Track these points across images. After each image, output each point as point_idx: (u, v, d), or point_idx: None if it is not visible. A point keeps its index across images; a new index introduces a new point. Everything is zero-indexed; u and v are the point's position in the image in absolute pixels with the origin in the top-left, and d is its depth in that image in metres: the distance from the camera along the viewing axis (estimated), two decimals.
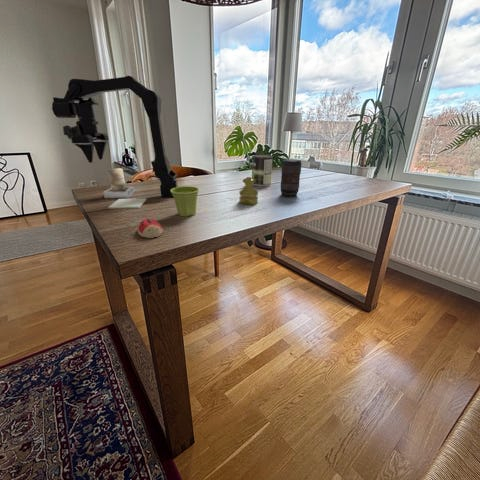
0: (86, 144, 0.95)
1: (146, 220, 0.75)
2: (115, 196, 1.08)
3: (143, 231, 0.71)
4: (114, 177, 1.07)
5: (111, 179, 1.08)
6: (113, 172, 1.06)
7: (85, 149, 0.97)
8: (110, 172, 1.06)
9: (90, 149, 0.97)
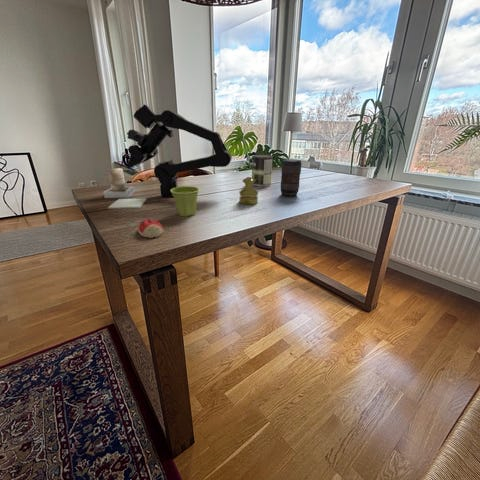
0: None
1: (147, 220, 0.75)
2: (115, 196, 1.08)
3: (144, 230, 0.71)
4: (114, 177, 1.07)
5: (111, 179, 1.08)
6: (113, 172, 1.06)
7: (133, 158, 1.01)
8: (110, 172, 1.06)
9: (137, 162, 1.01)
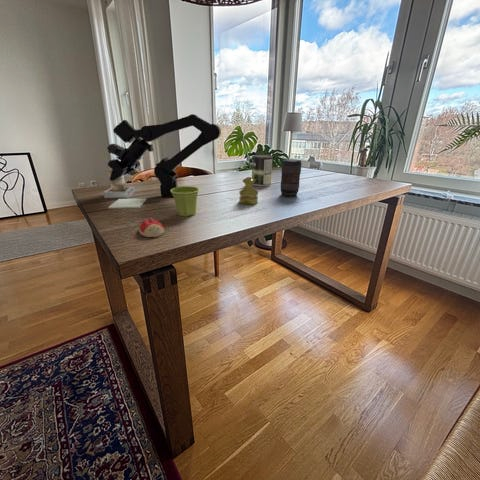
0: None
1: (147, 220, 0.75)
2: (115, 196, 1.08)
3: (145, 230, 0.72)
4: None
5: None
6: None
7: (115, 171, 1.05)
8: (110, 172, 1.06)
9: (119, 175, 1.05)
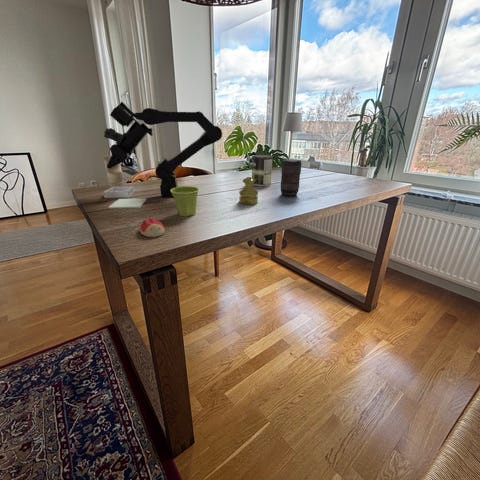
0: (121, 158, 0.96)
1: (148, 219, 0.75)
2: (115, 196, 1.08)
3: (146, 230, 0.72)
4: None
5: None
6: None
7: (114, 158, 0.98)
8: (107, 159, 0.99)
9: (119, 161, 0.98)
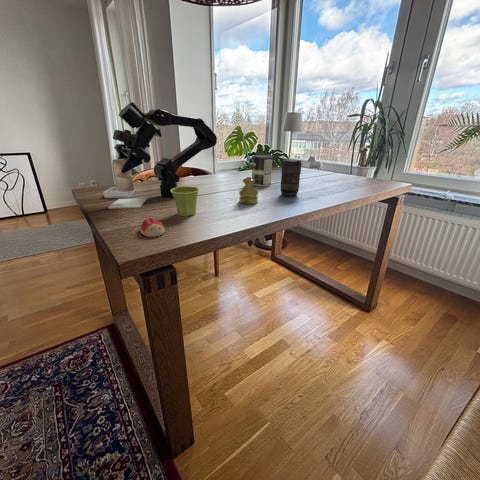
0: (140, 160, 0.93)
1: (148, 219, 0.76)
2: (115, 196, 1.08)
3: (146, 230, 0.72)
4: None
5: None
6: None
7: (130, 161, 0.92)
8: (121, 163, 0.92)
9: (136, 164, 0.94)
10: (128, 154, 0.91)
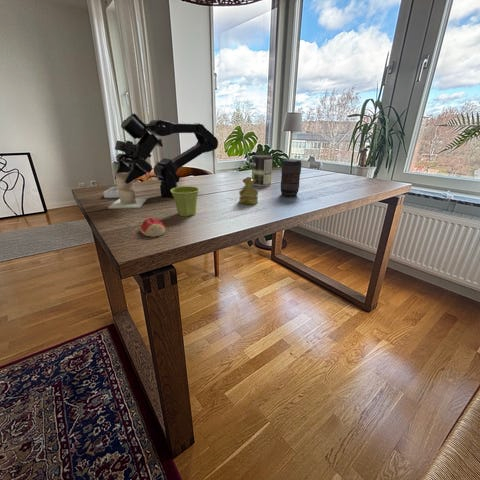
0: (144, 171, 0.93)
1: (149, 219, 0.76)
2: (115, 196, 1.08)
3: (147, 230, 0.72)
4: None
5: (124, 185, 0.95)
6: None
7: (134, 171, 0.93)
8: (124, 177, 0.94)
9: (139, 175, 0.94)
10: (132, 165, 0.91)
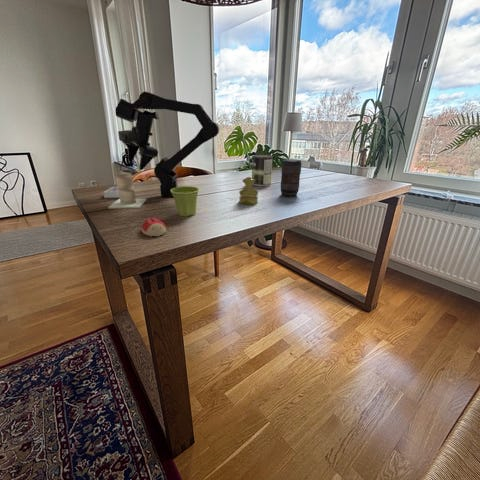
0: (152, 156, 1.01)
1: (149, 219, 0.76)
2: (115, 196, 1.08)
3: (147, 229, 0.72)
4: (128, 182, 0.95)
5: (124, 185, 0.95)
6: (128, 177, 0.95)
7: (144, 158, 1.02)
8: (124, 177, 0.94)
9: (149, 159, 1.03)
10: (140, 154, 0.99)
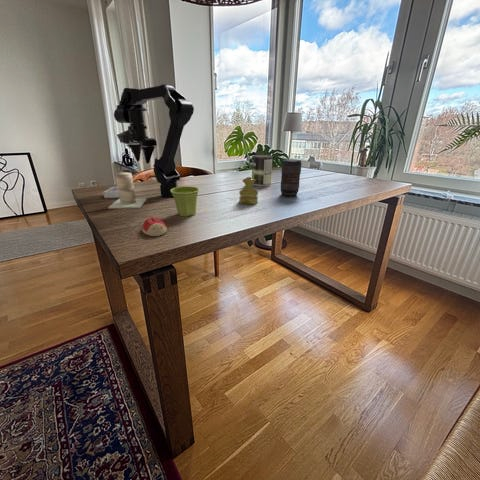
0: (152, 146, 1.07)
1: (150, 219, 0.76)
2: (115, 196, 1.08)
3: (148, 229, 0.72)
4: (128, 182, 0.95)
5: (124, 185, 0.95)
6: (128, 177, 0.95)
7: (146, 151, 1.08)
8: (124, 177, 0.94)
9: (151, 151, 1.09)
10: (141, 148, 1.05)
